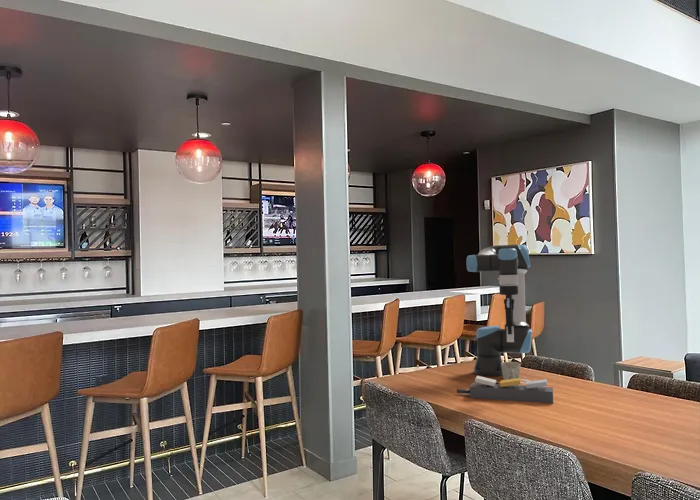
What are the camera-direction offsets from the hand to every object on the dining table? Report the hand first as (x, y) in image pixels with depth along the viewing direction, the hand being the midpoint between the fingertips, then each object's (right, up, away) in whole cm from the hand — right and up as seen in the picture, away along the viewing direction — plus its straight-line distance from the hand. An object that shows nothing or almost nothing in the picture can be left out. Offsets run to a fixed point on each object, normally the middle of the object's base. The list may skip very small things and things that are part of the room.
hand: (510, 341), depth 221 cm
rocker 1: (-11, -16, -1) cm, 19 cm away
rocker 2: (-1, -16, -5) cm, 17 cm away
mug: (+5, -23, +14) cm, 27 cm away
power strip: (-4, -22, -4) cm, 23 cm away
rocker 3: (+8, -16, -9) cm, 19 cm away
